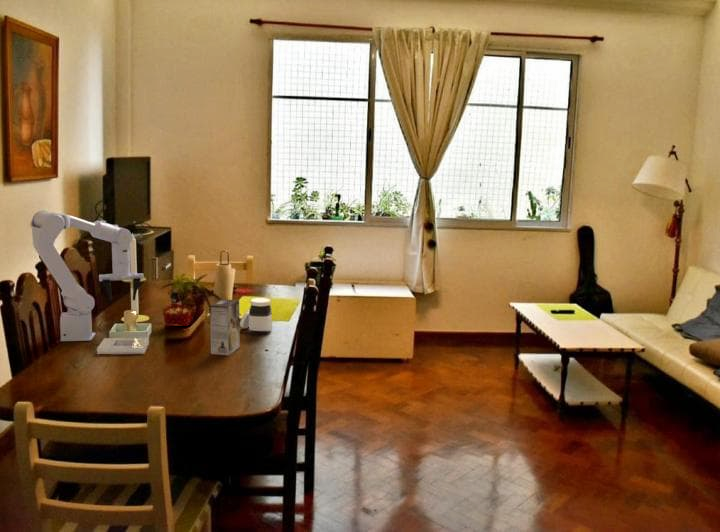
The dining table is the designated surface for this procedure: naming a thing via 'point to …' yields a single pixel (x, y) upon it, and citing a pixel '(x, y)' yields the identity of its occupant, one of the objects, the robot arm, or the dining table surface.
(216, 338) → the coffee box
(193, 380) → the dining table surface
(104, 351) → the block
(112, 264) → the robot arm
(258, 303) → the spread jar
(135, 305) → the candle
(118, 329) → the tray
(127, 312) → the pin
